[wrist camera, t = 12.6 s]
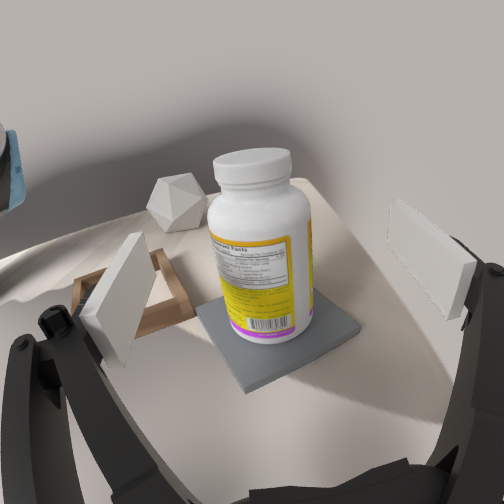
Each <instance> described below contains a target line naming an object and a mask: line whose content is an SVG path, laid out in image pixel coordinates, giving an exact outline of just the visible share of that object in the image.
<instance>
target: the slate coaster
mask: <svg viewBox="0 0 504 504" xmlns="http://www.w3.org/2000/svg"><path fill="white" fill-rule="evenodd" d="M195 310H196V314H197V316H198V317H199V319H200V321H201V322H202V324H203V326H204V328H205V329H206V331H207V333H208V335H209V336H210V338H211V340H212V341H213V343H214V345H215V346H216V348H217V350H218V351H219V353H220V355H221V356H222V358H223V360H224V361H225V363H226V364H227V366H228V368H229V369H230V371H231V372H232V374H233V376H234V377H235V379H236V380H237V382H238V383H239V385H240V387H241V388H242V390H243V391H244V393H245V394H247V393H249V392H251V391H254V390H256V389H258V388H260V387H262V386H264V385H266V384H268V383H270V382H272V381H274V380H276V379H278V378H280V377H282V376H284V375H286V374H288V373H290V372H292V371H294V370H296V369H297V368H299V367H301V366H303V365H305V364H307V363H309V362H310V361H312V360H314V359H316V358H318V357H319V356H321V355H323V354H325V353H326V352H328V351H330V350H331V349H333V348H335V347H337V346H338V345H340V344H342V343H343V342H345V341H347V340H348V339H350V338H351V337H353V336H355V335H356V334H358V333H360V327H361V325H360V324H359V323H357V322H356V321H355V320H354V319H352V318H351V317H350V316H349V315H347V314H346V313H345V312H344V311H342V310H341V309H340V308H339V307H337V306H336V305H335V304H334V303H332V302H331V301H330V300H329V299H327V298H326V297H325V296H323V295H322V294H321V293H320V292H318V291H317V290H316V289H315V288H313V315H312V319H311V321H310V323H309V325H308V326H307V328H306V329H305V330H304V331H303V332H302V333H301V334H299V335H298V336H296V337H295V338H293V339H291V340H288V341H286V342H282V343H277V344H259V343H254V342H251V341H249V340H246V339H244V338H243V337H241V336H240V335H238V334H237V333H236V332H235V330H234V329H233V327H232V325H231V323H230V320H229V316H228V312H227V307H226V303H225V299H224V296H223V297H220V298H217V299H215V300H212V301H210V302H207V303H204V304H202V305H199V306H197V307H195Z"/></svg>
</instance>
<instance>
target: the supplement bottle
mask: <svg viewBox="0 0 504 504" xmlns="http://www.w3.org/2000/svg"><path fill="white" fill-rule="evenodd" d="M213 166H214V172H215V179H216V181H218V184H219V185H220V186H221V194H220V195H219V196H217V197H216V198H215V199H214V200H213V202H212V203H211V205H210V207H209V209H208V213H207V220H208V226H209V231H210V235H211V240H212V245H213V249H214V254H215V258H216V263H217V268H218V272H219V277H220V281H221V286H222V290H223V294H224V299H225V303H226V307H227V312H228V316H229V320H230V323H231V325H232V327H233V329H234V330H235V332H236V333H237V334H238V335H240V336H241V337H243V338H244V339H246V340H249V341H251V342H254V343H259V344H277V343H282V342H286V341H288V340H291V339H293V338H295V337H296V336H298V335H299V334H301V333H302V332H303V331H304V330H305V329H306V328H307V326H308V325H309V323H310V321H311V319H312V315H313V263H312V232H311V210H310V203H309V200H308V198H307V197H306V195H305V194H304V193H303V192H302V191H301V190H300V189H298V188H297V187H295V186H293V185H290V181H289V177H290V176H291V171H292V164H291V155H290V152H289V151H288V150H286V149H281V148H255V149H247V150H241V151H236V152H232V153H228V154H225V155H222V156H220V157H217V158H216V159H215V160H214V161H213Z"/></svg>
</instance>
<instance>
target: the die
mask: <svg viewBox="0 0 504 504" xmlns="http://www.w3.org/2000/svg"><path fill="white" fill-rule="evenodd" d="M207 200H208V199H207V197H206V195H205V194H204V192H203V191H202V189H201V187H200V186H199V184H198V183H197V181H196V179H195V178H194V176H193V175H192V173H186V174H181V175H175V176H170V177H164V178H159V179H158V181H157V183H156V186H155V188H154V190H153V192H152V195H151V197H150V200H149V202H148V204H147V207H146V208H147V209H148V211H149V212H150V213H151V215H152V216H153V217H154V219H155V220H156V221H157V223H158V224H159V225H160V227H161V228H162V229H163V231H164V232H165V233H170V232H177V231H184V230H191V229H198V228H199V225H200V222H201V219H202V216H203V213H204V210H205V206H206V203H207Z"/></svg>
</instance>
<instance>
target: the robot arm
mask: <svg viewBox="0 0 504 504" xmlns="http://www.w3.org/2000/svg"><path fill="white" fill-rule="evenodd" d="M25 196H26V191H25V184H24V179H23V173H22V168H21V160H20V153H19V147H18V141H17V135H16V132H15V131H14V130H6V131H5V130H4V128H3V126H2V124H1V123H0V216H1V215H3V214H5V213H8V212H9V211H10V210H11V209H13V208H15V207H16V206H18V205H20V204H21V203H22V202H23V201H24V199H25ZM387 246H388V247H389V248H390V249H391V251H392V252H393V253H394V254H395V255H396V257H397V258H398V259H399V260H400V261H401V262H402V264H403V265H404V266H405V267H406V268H407V270H408V271H409V272H410V273H411V275H412V276H413V277H414V278H415V279H416V280H417V282H418V283H419V285H420V286H421V287H422V288H423V290H424V291H425V292H426V293H427V295H428V296H429V297H430V299H431V300H432V301H433V302H434V304H435V305H436V306H437V308H438V309H439V310H440V312H441V313H442V314H443V316H444V317H445V319H446V320H450V319H453V318H456V317H459V316H460V314H461V312H462V309H463V306H464V305H465V306H466V308H467V309H468V314H467V316H466V318H465V321H464V324H463V326H462V329H461V331H463V330H464V336H463V342H462V348H461V354H460V359H459V364H458V369H457V374H456V378H455V383H454V387H453V391H452V395H451V399H450V402H449V406H448V410H447V413H446V416H445V420H444V423H443V426H442V429H441V432H440V436H439V439H438V441H437V444H436V447H435V449H434V451H433V453H432V455H431V456H430V458H429V460H428V461H427V463H426V465H409V463H408V460H407V458H404V459H401V460H398V461H395V462H392V463H389V464H386V465H382V466H379V467H376V468H372V469H370V470H368V471H366V472H365V473H363V474H361V475H359V476H357V477H355V478H353V479H351V480H349V481H347V482H345V483H343V484H341V485H339V486H336V487H333V488H318V487H297V486H285V487H276V488H267V489H254V490H249V497H247V498H244V499H241V500H238V501H236V502H233V503H232V504H504V501H503V496H504V268H503V267H502V266H500V265H498V264H495V263H486V264H485V263H484V262H483V261H482V260H480V259H479V258H478V257H477V256H476V255H475V254H474V253H473V252H471V251H470V250H469V249H468V248H467V247H465V246H464V244H462V243H461V242H460V241H459V240H457V239H455V238H453V237H451V236H449V235H447V234H446V233H445V232H444V231H443V230H441V229H440V228H439V227H437V226H436V225H435V224H434V223H433V222H431V221H430V220H429V219H428V218H426V217H425V216H424V215H423V214H421V213H420V212H419V211H418V210H416V209H415V208H414V207H412V206H411V205H410V204H408V203H407V202H406V201H404V200H403V199H395V200H390V213H389V226H388V238H387ZM155 279H156V273H155V270H154V267H153V263H152V260H151V257H150V254H149V251H148V248H147V244H146V241H145V238H144V234H143V232H137V233H131V234H129V235H128V237H127V238H126V240H125V241H124V243H123V244H122V246H121V247H120V249H119V250H118V252H117V253H116V255H115V257H114V258H113V260H112V261H111V263H110V264H109V266H108V267H107V269H106V271H105V272H104V274H103V275H102V277H101V279H100V280H99V282H98V283H95V284H93V285H92V286H91V287H90V288H89V289H88V290H87V291H86V293H85V294H84V296H83V299H81V301H80V302H79V305H78V306H77V308H76V309H75V311H74V313H73V314H72V316H70V314H69V313H68V311H67V309H66V307H65V306H63V305H55V306H52V307H50V308H48V309H47V310H46V311H44V312H43V313H42V315H41V316H40V317H39V319H38V324H39V326H40V328H41V329H42V331H43V332H44V334H45V336H46V337H47V340H43V341H40V342H37V341H36V340H35V338H34V337H33V336H32V335H31V334H25V335H22V336H20V337H18V338H17V339H16V340H15V341H14V342H13V344H12V345H11V348H10V353H9V358H8V365H7V371H6V377H5V385H4V394H3V404H2V420H1V474H2V487H3V497H4V504H85V503H84V500H83V496H82V492H81V488H80V484H79V479H78V476H77V471H76V465H75V460H74V455H73V449H72V444H71V437H70V430H69V422H68V414H67V404H66V396H67V399H68V401H69V404H70V407H71V409H72V411H73V414H74V416H75V418H76V421H77V423H78V425H79V428H80V430H81V432H82V434H83V436H84V438H85V441H86V443H87V445H88V447H89V448H90V451H91V453H92V455H93V457H94V459H95V460H96V462H97V464H98V466H99V468H100V469H101V471H102V473H103V475H104V477H105V478H106V480H107V482H108V484H109V485H110V487H111V489H112V491H113V494H112V495H111V500H112V502H113V504H202V503H201V502H200V501H199V500H198V499H197V498H196V497H195V496H193V494H191V492H190V491H189V490H188V489H187V488H186V487H185V486H184V485H183V483H182V482H181V481H180V480H179V479H178V478H177V476H176V475H175V474H174V473H173V472H172V470H171V469H170V468H169V467H168V466H167V465H166V463H165V462H164V461H163V459H162V458H161V457H160V455H159V454H158V453H157V452H156V450H155V449H154V448H153V447H152V445H151V444H150V442H149V441H148V439H147V438H146V437H145V435H144V434H143V433H142V431H141V430H140V428H139V427H138V425H137V424H136V422H135V421H134V420H133V418H132V416H131V415H130V413H129V412H128V411H127V409H126V407H125V406H124V404H123V403H122V401H121V399H120V398H119V396H118V395H117V393H116V391H115V390H114V388H113V386H112V385H111V383H110V381H109V379H108V378H107V376H106V374H105V372H104V371H103V369H102V368H101V366H100V364H101V361H102V358H103V359H104V360H105V362H106V364H107V365H108V367H112V368H114V367H116V368H119V367H120V368H125V366H126V363H127V359H128V356H129V353H130V350H131V347H132V344H133V341H134V338H135V335H136V332H137V329H138V326H139V323H140V320H141V317H142V314H143V311H144V309H145V306H146V303H147V300H148V297H149V295H150V292H151V289H152V287H153V284H154V281H155ZM464 328H465V329H464Z"/></svg>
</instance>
